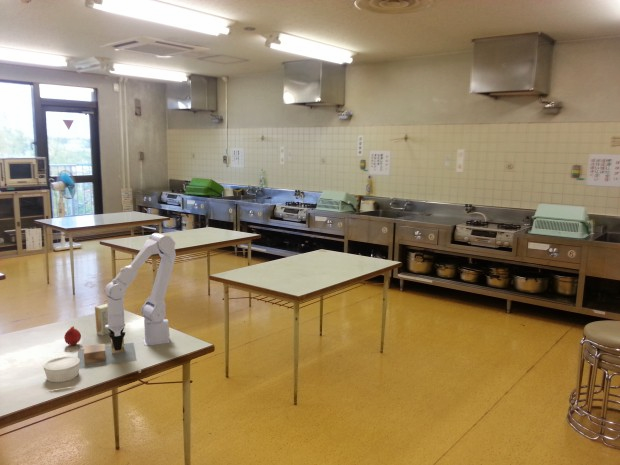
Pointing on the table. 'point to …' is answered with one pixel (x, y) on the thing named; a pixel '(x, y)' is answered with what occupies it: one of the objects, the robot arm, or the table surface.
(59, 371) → the ramekin
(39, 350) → the table surface
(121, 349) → the birch block
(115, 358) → the mat
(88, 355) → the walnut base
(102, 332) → the skincare box
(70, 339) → the onion
